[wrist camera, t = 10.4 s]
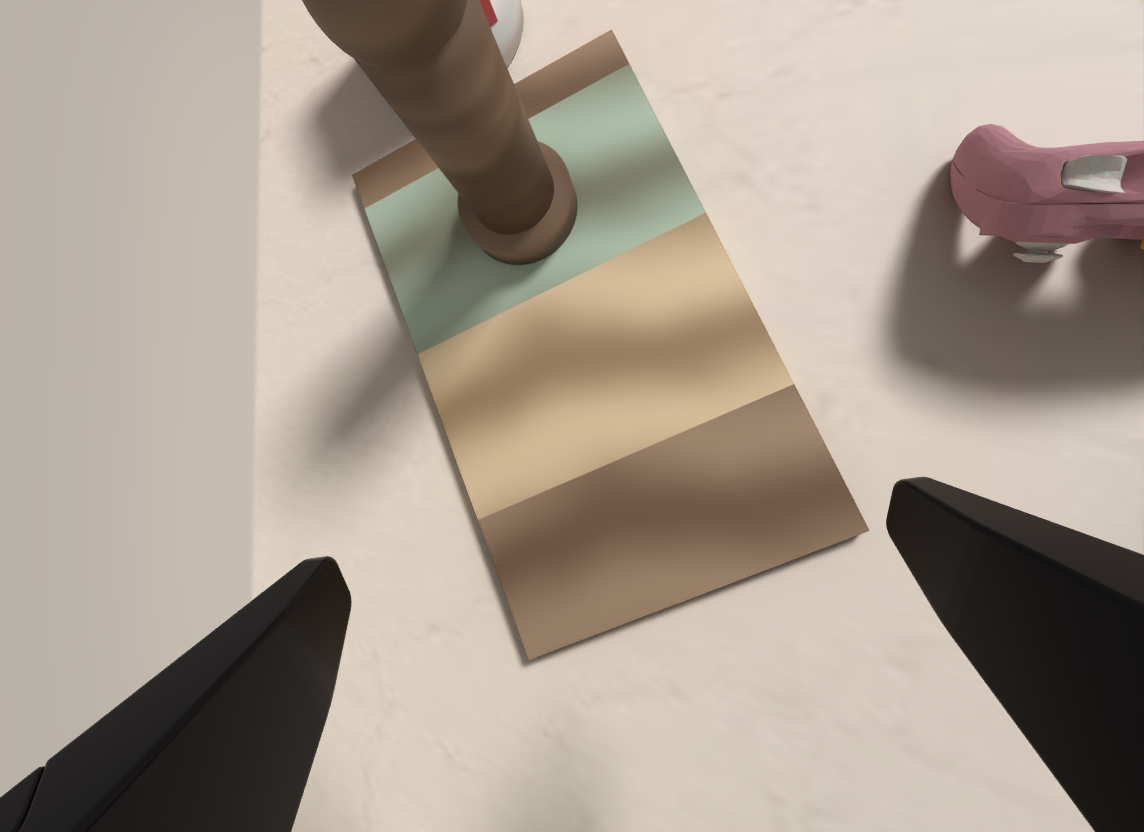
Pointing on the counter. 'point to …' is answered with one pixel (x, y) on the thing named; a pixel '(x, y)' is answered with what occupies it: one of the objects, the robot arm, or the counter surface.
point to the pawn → (461, 116)
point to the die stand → (505, 25)
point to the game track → (606, 374)
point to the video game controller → (1049, 191)
